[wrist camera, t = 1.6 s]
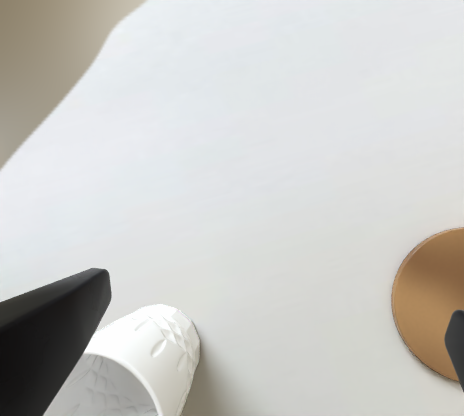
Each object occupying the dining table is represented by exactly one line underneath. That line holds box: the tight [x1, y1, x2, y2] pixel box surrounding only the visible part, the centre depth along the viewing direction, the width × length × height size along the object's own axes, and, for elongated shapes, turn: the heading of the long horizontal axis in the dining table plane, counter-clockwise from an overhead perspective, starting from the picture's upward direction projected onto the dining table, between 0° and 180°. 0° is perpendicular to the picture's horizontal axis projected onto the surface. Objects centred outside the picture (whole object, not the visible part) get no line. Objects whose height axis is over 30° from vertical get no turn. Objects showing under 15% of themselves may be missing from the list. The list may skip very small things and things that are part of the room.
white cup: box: [43, 304, 200, 416], centre depth 19 cm, size 8×8×10 cm
